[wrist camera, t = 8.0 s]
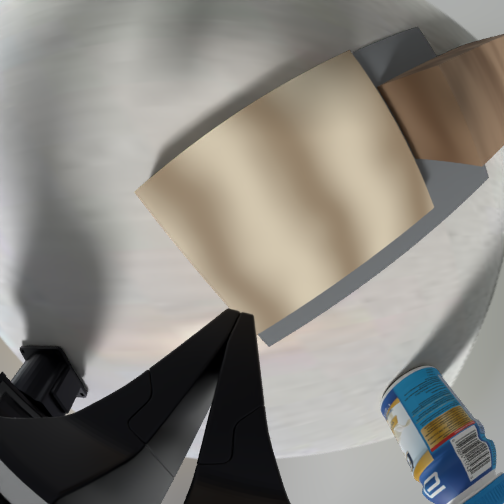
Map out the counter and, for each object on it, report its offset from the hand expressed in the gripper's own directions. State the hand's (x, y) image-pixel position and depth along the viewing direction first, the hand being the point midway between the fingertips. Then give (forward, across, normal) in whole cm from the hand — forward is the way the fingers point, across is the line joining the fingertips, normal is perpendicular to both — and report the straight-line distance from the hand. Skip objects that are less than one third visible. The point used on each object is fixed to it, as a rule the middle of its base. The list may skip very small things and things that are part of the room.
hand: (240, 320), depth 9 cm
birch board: (+11, 0, 0) cm, 11 cm away
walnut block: (+12, -8, -7) cm, 16 cm away
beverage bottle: (+12, -18, +20) cm, 29 cm away
